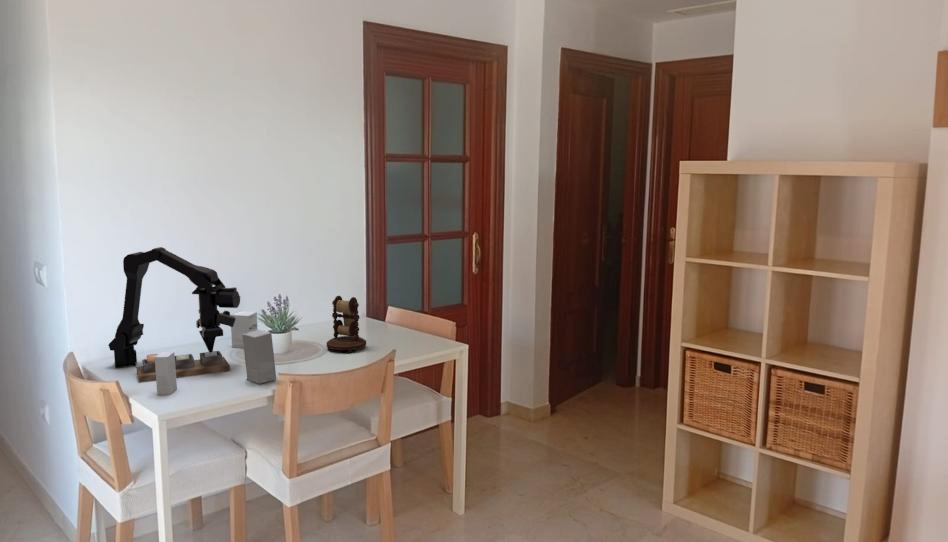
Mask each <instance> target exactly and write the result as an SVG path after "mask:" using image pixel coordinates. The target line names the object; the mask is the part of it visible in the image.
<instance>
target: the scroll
mask: <svg viewBox="0 0 948 542" xmlns="http://www.w3.org/2000/svg"><path fill="white" fill-rule="evenodd" d="M331 305H332V307H333V308H332V313H331V314H332V315H331V316H332V319H333V325H332V329H333V337H332V338H331V339H329V340H327V342H326V348H327V350H328V351H330V350H336V351H348V353H349V354H351V353H352V351H353V350H357V349H361V348H365V347H366V346H367V340H366V339H365V338H363V337H361V336H360V335H359V332H360V327H359V320H360V318H361V317H360V315H359V310H358V309H359V306H360V304H359V302H358V299H357V298H356V297H354V296H353V297H350V299H349V300H344V299H343V297H342V296H341V295H337V296H335V298H334V300H332V301H331ZM338 318H342V319H343V321H342V320H341V319H338Z"/></svg>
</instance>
